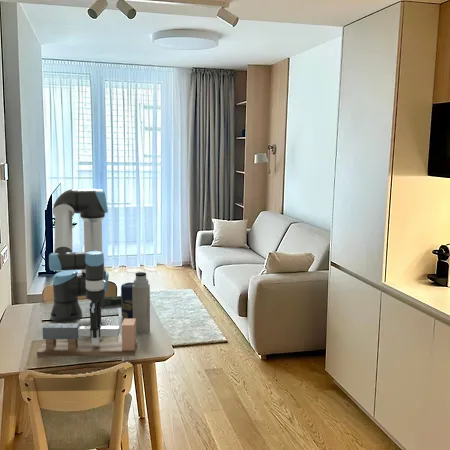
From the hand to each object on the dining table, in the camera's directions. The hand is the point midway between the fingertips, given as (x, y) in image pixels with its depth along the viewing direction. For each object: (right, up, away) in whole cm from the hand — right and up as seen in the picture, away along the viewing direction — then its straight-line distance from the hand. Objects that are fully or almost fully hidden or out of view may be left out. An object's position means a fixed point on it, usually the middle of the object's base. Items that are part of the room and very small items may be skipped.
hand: (96, 341), depth 217 cm
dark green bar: (-7, +6, +60) cm, 60 cm away
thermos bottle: (+15, -1, +24) cm, 29 cm away
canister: (+7, +3, +43) cm, 43 cm away
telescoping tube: (-5, +3, -1) cm, 6 cm away
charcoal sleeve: (-14, +2, -1) cm, 15 cm away
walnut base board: (-3, -4, 0) cm, 5 cm away
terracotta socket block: (+14, -2, +1) cm, 14 cm away
